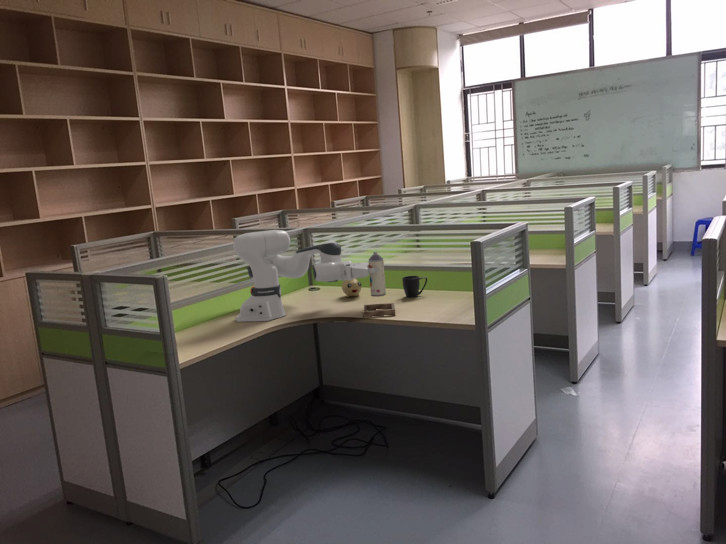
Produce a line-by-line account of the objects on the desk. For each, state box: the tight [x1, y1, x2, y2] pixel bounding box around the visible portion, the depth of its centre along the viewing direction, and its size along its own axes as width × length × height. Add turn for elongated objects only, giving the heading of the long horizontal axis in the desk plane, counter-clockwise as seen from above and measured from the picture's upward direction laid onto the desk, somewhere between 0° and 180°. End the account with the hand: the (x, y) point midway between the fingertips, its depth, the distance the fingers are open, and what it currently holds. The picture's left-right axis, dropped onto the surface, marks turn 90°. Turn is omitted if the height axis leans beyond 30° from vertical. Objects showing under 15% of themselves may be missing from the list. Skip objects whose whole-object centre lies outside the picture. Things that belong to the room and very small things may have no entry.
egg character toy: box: [341, 278, 362, 298], centre depth 308 cm, size 10×12×11 cm
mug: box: [401, 275, 428, 299], centre depth 297 cm, size 8×12×10 cm
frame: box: [363, 302, 396, 318], centre depth 270 cm, size 13×13×2 cm
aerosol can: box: [367, 251, 387, 298], centre depth 280 cm, size 7×7×20 cm
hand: (378, 268), depth 280 cm, fingers closed on aerosol can, 7 cm apart
